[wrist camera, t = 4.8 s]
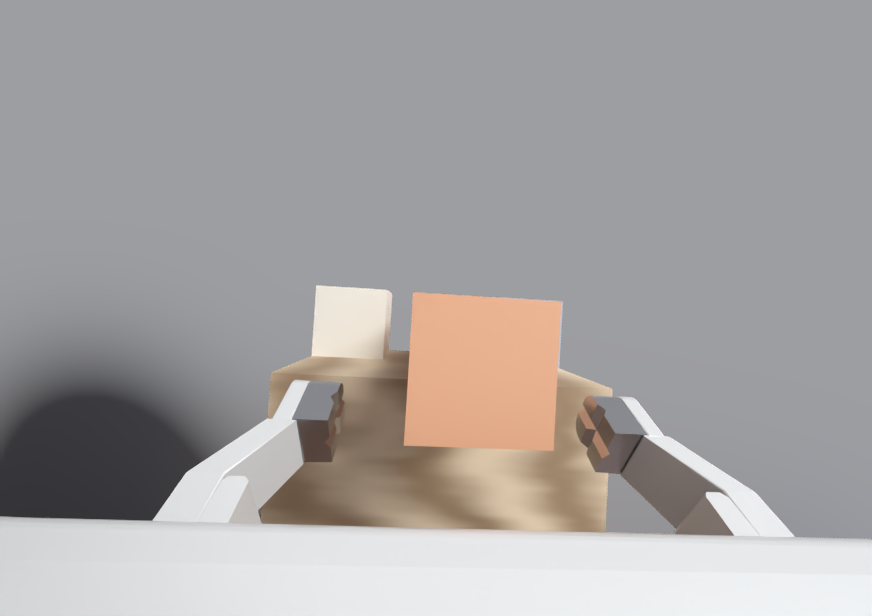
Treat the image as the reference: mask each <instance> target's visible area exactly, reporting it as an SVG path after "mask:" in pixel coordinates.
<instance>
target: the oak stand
mask: <svg viewBox="0 0 872 616" xmlns="http://www.w3.org/2000/svg"><path fill="white" fill-rule="evenodd" d="M409 354H410V351H396V350H389V351H388V353H387V354H386V356H385V357H384V359H383V360H381V359H361V358H342V357H322V356H310V357H308V358H305V359H303V360H301V361H298V362H296V363H293V364H291V365H289V366H286V367H284V368H282V369H279V370H277V371H274V372H272V373H271V381H270V395H269V409H268V419H272V418H273V416H274V414H275V412H276V410H277V409H278V407H279V405H280V403H281V401H282V399H283V397H284V396H285V394H286V392H287V390H288V388H289V386H290V384H291V383H292V382H293V381H294V380H306V381H324V382H337V383H342V384H343V389H344V393H343V396H342V400H343V401H344V402H345V415H344V421H343V426H342V430H341V432H340V433H339V434H338V435H337V443H338V444H337V447H336V451H335V454H334V457H333V461H332V462H303V465H302V466H301V467H300V468H299V469H298V470H297V471H296V472H295V473H294V474H293V475H292V476H291V477H290V478H289V479H288V480H287V481H286V482H285V483H284V484H283V485H282V486H281V487H280V488H279V489H278V490H277V491H276V493H275V494H274V495H273V496H272V497H271V498H270V499H269V500H268V501H267V502H266V503H265V504H264V505H263V506H262V509H261V523H262V524H295V525H334V526H373V527H412V528H451V529H489V530H529V531H569V532H605V526H606V508H607V486H608V473H600V472H595V471H594V469H593V467H592V465H591V463H590V461H589V459H588V457H587V455H586V452H587V449H588V448H587V447H586V446H585V445H584V444H582V443H581V442H580V440H579V438H578V436H577V432H576V419H577V416H578V413H580V412H581V411H583V410H584V409H585V408H584V406H583V402H584V399H585V398H586V397H587V396H609V397H612V389H611V388H608V387H606V386H603V385H601V384H598V383H595V382H593V381H590V380H588V379H585V378H582V377H580V376H577V375H574V374H572V373H569V372H567V371H564V370H562V369H558V375H557V394H556V413H555V432H554V451H544V450H515V449H486V448H458V447H429V446H404V434H405V418H406V402H407V386H408V370H409Z"/></svg>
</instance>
